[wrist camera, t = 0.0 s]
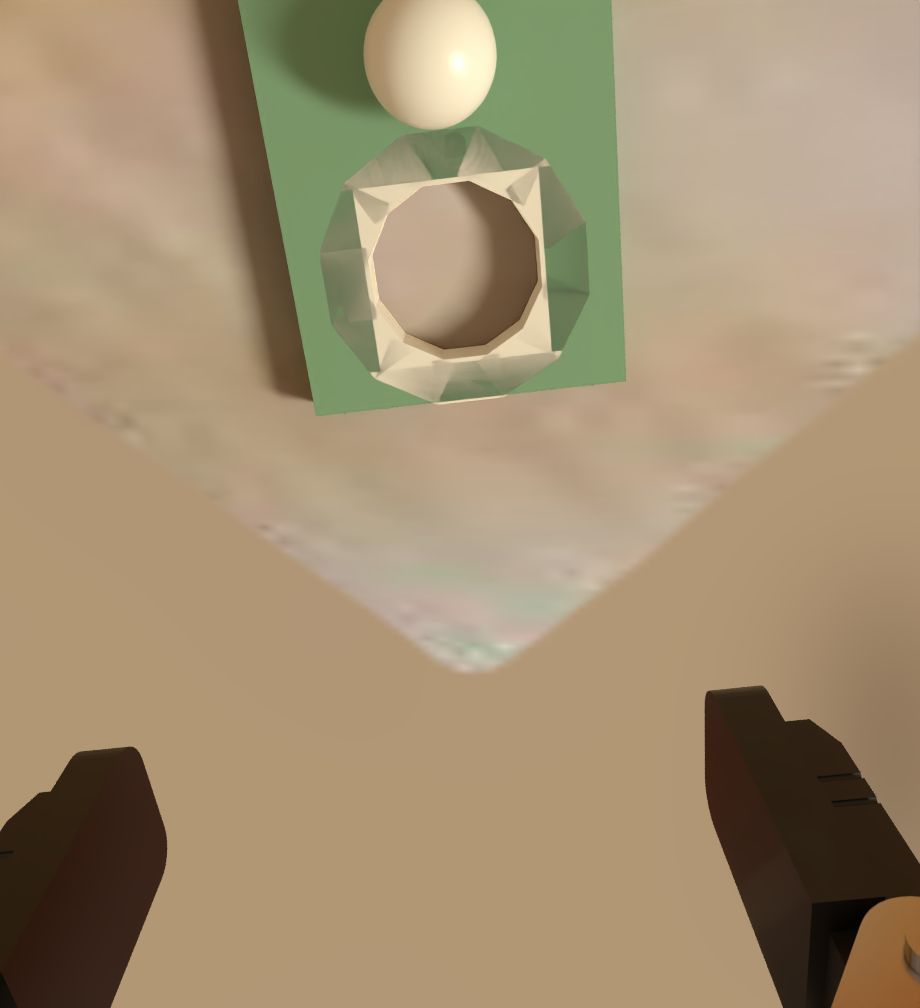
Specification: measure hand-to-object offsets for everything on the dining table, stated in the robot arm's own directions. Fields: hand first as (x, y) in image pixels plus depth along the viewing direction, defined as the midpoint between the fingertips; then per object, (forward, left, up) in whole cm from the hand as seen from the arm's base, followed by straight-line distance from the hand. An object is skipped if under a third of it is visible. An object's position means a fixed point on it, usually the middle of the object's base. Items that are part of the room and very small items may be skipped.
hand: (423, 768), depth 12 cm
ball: (-11, +1, -25) cm, 27 cm away
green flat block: (-8, +1, -29) cm, 30 cm away
